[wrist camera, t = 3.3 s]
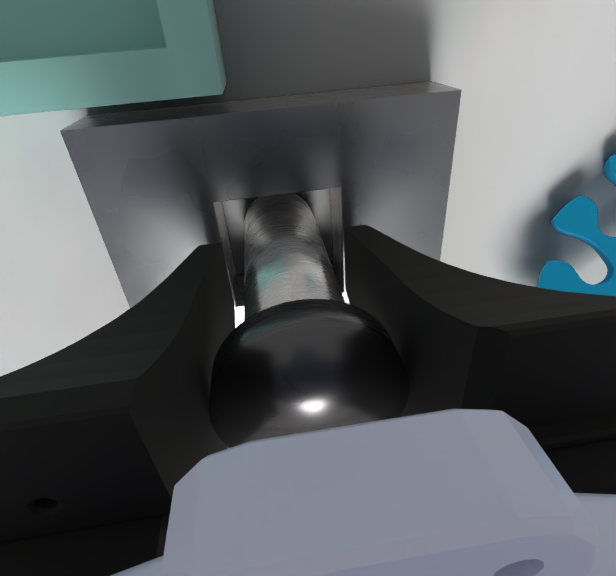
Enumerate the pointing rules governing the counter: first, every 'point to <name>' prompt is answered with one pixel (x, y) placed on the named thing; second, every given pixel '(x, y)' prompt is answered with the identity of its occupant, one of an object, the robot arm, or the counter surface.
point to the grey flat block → (265, 172)
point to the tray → (106, 53)
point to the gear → (584, 225)
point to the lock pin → (299, 339)
